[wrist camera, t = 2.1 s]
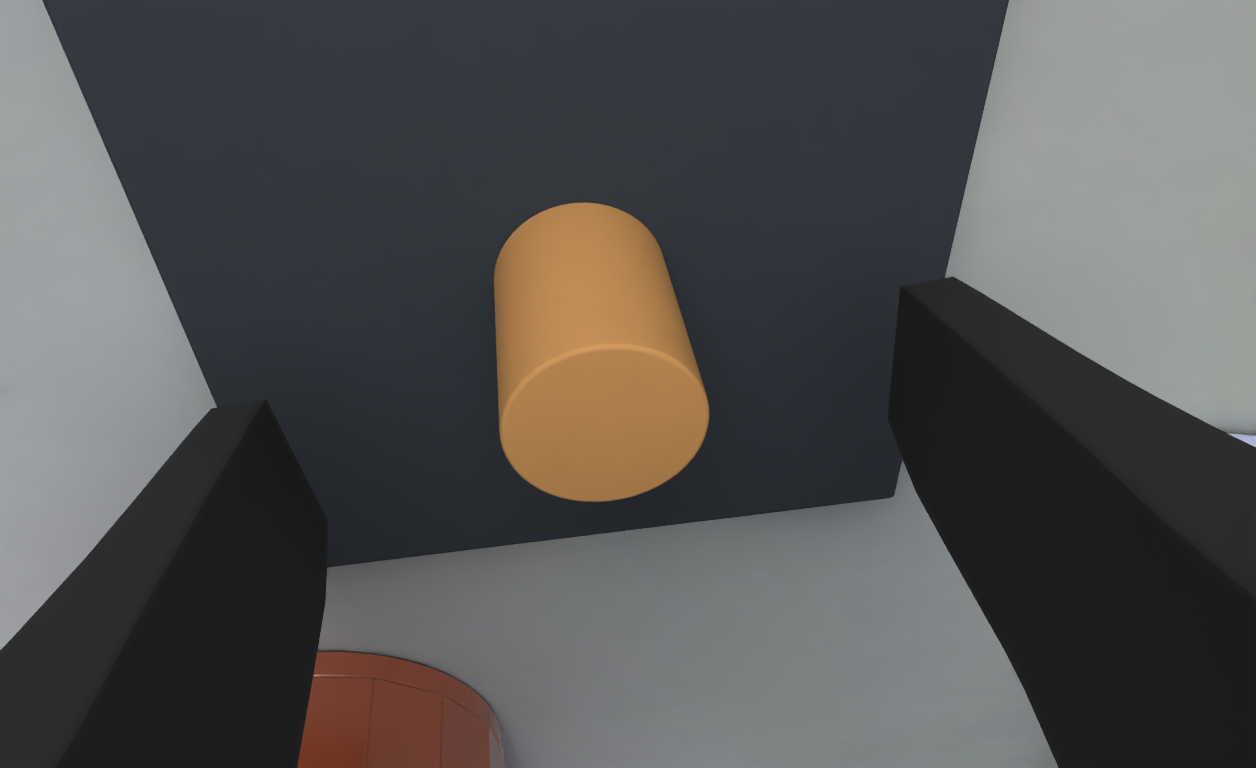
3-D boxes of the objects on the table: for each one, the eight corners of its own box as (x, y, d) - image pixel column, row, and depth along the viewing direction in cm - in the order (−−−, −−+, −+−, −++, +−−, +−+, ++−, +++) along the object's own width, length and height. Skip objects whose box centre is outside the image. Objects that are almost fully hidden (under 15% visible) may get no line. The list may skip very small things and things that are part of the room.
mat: (1025, -218, 10) (1264, -157, 7) (880, 469, 17) (968, 647, 14) (6, -163, 9) (-219, -65, 6) (293, 539, 16) (252, 747, 13)
